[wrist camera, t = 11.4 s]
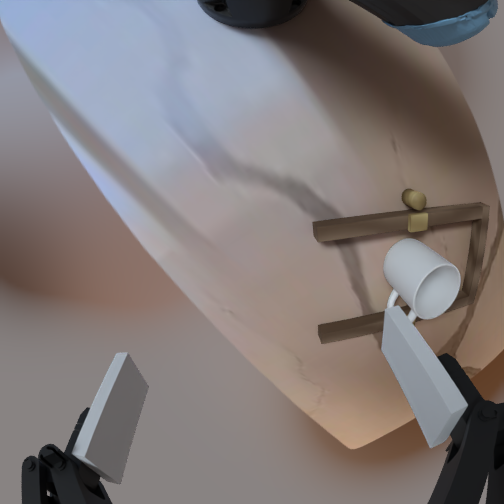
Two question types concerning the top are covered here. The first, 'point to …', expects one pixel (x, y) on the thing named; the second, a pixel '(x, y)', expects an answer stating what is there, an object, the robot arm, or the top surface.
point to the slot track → (412, 222)
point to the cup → (420, 279)
